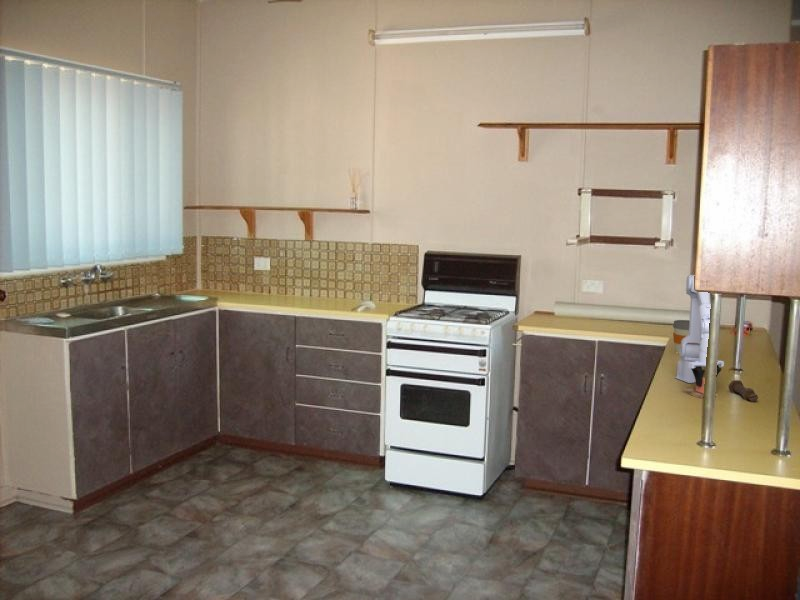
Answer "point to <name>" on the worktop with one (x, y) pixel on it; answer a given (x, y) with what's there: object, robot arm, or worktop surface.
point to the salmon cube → (701, 389)
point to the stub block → (693, 391)
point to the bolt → (742, 390)
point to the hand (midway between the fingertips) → (704, 385)
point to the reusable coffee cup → (680, 332)
